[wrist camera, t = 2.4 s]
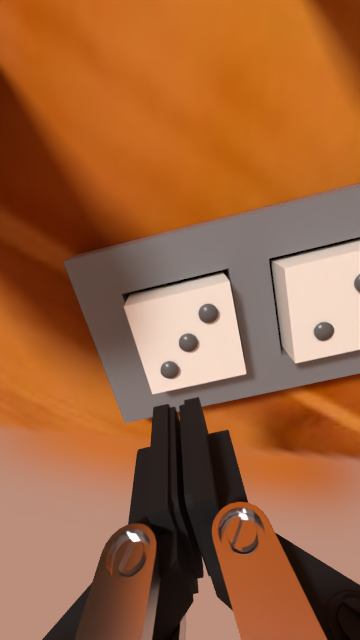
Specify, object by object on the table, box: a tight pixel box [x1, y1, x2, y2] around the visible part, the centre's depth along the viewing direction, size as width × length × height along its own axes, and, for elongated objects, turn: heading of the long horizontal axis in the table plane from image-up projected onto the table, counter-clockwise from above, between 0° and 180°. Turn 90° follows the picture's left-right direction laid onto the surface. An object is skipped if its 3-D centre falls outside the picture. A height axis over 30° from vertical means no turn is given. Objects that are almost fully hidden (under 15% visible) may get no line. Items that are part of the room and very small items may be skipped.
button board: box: [63, 183, 360, 423], centre depth 20 cm, size 30×12×2 cm, turn 104°
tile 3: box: [124, 272, 246, 394], centre depth 19 cm, size 6×6×3 cm
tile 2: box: [271, 239, 360, 363], centre depth 18 cm, size 6×6×3 cm
